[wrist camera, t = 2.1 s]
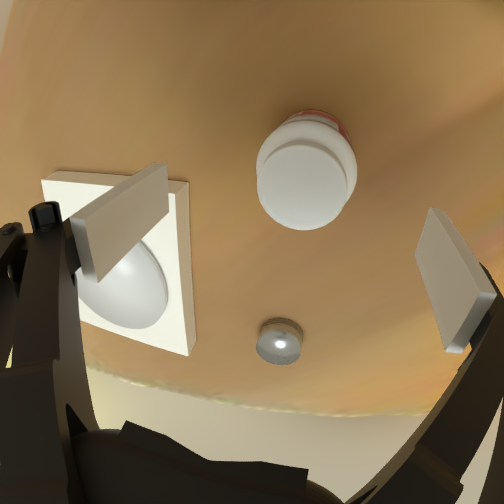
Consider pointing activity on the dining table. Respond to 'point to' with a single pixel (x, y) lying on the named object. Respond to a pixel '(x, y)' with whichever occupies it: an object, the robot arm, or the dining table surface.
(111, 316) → the scale
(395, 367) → the dining table surface
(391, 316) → the dining table surface
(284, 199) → the pill bottle
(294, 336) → the shiny grey dome
